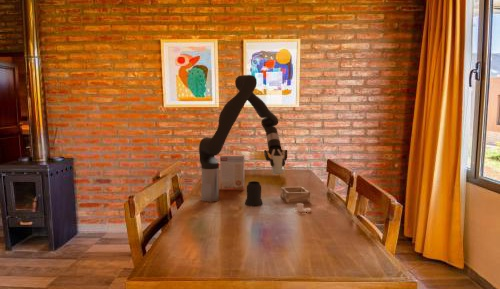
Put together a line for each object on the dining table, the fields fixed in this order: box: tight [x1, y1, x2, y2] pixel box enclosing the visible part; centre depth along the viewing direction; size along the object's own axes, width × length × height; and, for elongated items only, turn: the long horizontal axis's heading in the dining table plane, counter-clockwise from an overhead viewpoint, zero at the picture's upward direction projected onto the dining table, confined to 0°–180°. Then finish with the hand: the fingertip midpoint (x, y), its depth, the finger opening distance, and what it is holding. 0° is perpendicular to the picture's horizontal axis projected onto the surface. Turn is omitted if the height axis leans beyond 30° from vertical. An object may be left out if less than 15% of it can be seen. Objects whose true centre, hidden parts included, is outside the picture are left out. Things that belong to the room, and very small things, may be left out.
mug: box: [244, 180, 263, 208], centre depth 165 cm, size 12×9×11 cm
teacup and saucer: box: [291, 203, 312, 215], centre depth 153 cm, size 9×8×4 cm
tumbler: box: [271, 154, 284, 175], centre depth 181 cm, size 6×6×10 cm
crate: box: [280, 186, 311, 204], centre depth 172 cm, size 13×12×6 cm
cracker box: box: [219, 154, 246, 192], centre depth 192 cm, size 14×6×21 cm, turn 84°
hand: (278, 165), depth 180 cm, fingers closed on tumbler, 5 cm apart
